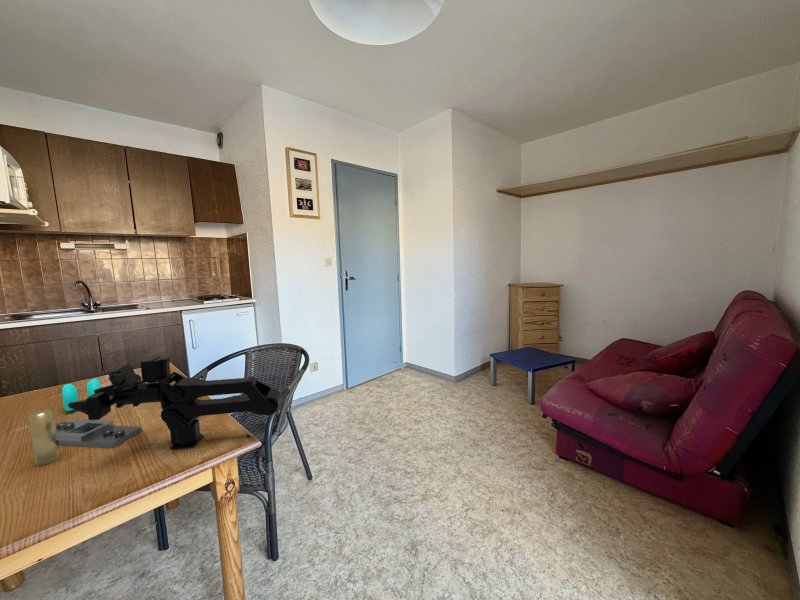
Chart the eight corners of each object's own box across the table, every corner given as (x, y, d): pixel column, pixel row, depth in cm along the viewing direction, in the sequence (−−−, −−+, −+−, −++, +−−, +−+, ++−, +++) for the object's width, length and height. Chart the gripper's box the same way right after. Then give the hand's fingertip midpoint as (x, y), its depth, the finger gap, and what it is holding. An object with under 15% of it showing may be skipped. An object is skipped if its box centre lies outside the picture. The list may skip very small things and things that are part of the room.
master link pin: (63, 455, 90) (56, 408, 88) (50, 464, 86) (42, 415, 84) (45, 457, 89) (38, 410, 88) (31, 466, 85) (23, 417, 83)
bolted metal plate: (141, 431, 103) (140, 419, 102) (112, 448, 93) (110, 435, 93) (76, 427, 105) (74, 416, 105) (41, 444, 96) (39, 431, 95)
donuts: (65, 407, 121) (62, 382, 119) (101, 399, 128) (98, 375, 126) (64, 416, 114) (61, 389, 112) (102, 407, 121) (99, 381, 119)
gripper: (159, 356, 100) (102, 360, 97) (120, 377, 82) (48, 382, 79) (163, 390, 102) (107, 394, 99) (125, 418, 83) (55, 424, 80)
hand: (82, 397), depth 89 cm, fingers open, 9 cm apart
